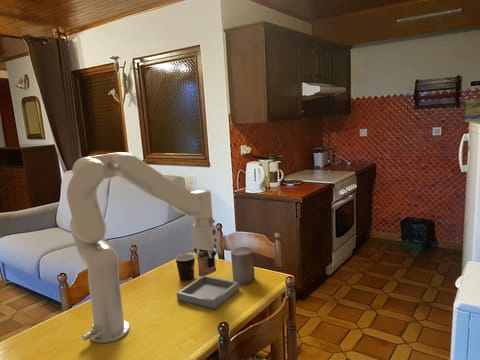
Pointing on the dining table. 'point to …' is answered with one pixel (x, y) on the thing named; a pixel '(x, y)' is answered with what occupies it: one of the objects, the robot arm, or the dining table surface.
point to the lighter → (204, 264)
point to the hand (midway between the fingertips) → (206, 265)
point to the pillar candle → (243, 265)
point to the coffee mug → (186, 266)
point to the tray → (208, 292)
